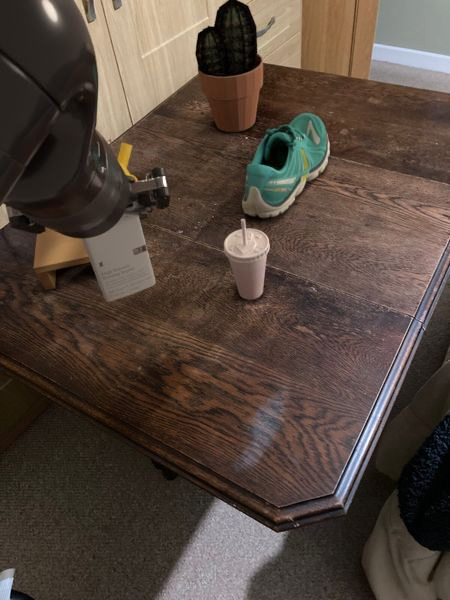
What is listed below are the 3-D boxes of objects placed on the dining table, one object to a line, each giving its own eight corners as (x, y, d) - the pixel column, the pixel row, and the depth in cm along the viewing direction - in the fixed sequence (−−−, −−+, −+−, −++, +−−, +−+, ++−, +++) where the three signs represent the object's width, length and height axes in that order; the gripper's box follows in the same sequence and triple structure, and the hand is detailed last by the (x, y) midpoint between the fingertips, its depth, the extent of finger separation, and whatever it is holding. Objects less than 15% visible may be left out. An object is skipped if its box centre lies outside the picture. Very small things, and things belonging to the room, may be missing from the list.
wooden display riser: (45, 290, 80) (33, 268, 76) (48, 251, 87) (37, 229, 83) (142, 269, 81) (134, 246, 77) (137, 232, 88) (130, 209, 84)
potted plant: (221, 105, 117) (208, -15, 99) (275, 111, 112) (271, -13, 94) (194, 133, 110) (174, 9, 91) (250, 142, 105) (241, 12, 86)
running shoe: (340, 145, 100) (344, 90, 92) (292, 232, 83) (291, 174, 75) (288, 138, 104) (287, 84, 96) (232, 219, 87) (225, 163, 79)
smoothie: (225, 303, 74) (214, 231, 64) (235, 274, 78) (226, 201, 68) (267, 308, 72) (263, 234, 62) (275, 277, 76) (272, 204, 66)
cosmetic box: (107, 304, 54) (72, 217, 46) (96, 280, 57) (61, 193, 48) (159, 284, 56) (134, 195, 47) (146, 261, 59) (120, 173, 50)
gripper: (156, 109, 35) (167, 167, 52) (-46, 146, 34) (31, 193, 51) (178, 211, 36) (182, 236, 52) (-22, 251, 35) (47, 264, 51)
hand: (107, 215), depth 52 cm, fingers closed on cosmetic box, 6 cm apart
